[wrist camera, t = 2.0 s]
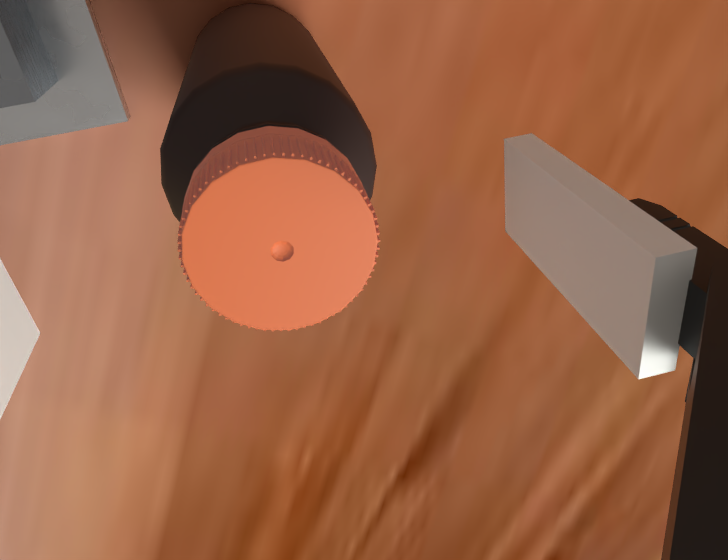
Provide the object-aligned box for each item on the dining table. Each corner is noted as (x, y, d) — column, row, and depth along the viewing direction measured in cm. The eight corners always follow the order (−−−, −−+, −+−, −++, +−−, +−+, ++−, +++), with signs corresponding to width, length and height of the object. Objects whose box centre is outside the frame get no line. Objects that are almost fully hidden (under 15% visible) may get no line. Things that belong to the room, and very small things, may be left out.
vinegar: (230, -28, 29) (222, 46, 12) (346, 52, 32) (471, 204, 15) (167, 93, 31) (85, 299, 14) (280, 158, 34) (323, 393, 17)
